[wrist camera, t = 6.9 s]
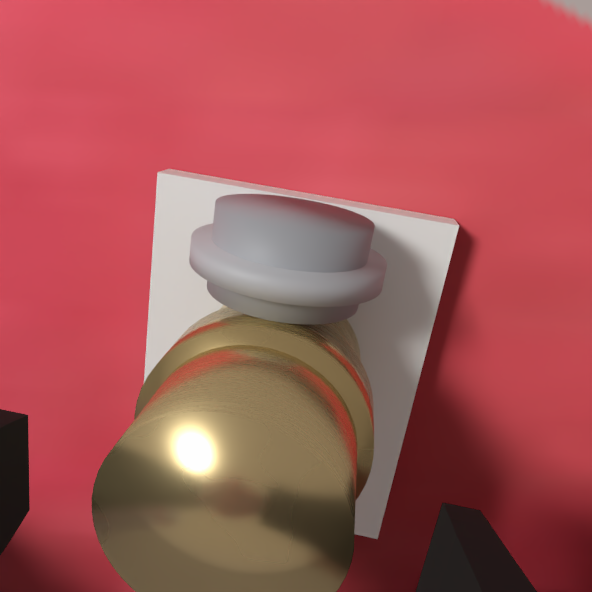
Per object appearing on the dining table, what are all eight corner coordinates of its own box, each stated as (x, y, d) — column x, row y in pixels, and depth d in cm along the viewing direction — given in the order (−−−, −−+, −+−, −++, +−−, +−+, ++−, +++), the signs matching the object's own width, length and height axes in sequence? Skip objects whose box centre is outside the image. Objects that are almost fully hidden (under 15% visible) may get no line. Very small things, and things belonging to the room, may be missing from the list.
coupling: (363, 447, 14) (359, 666, 9) (193, 427, 15) (83, 621, 9) (382, 281, 13) (392, 413, 7) (192, 263, 13) (60, 374, 8)
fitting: (377, 518, 16) (378, 662, 12) (148, 468, 16) (72, 588, 12) (454, 219, 13) (492, 270, 9) (169, 168, 13) (79, 194, 9)
